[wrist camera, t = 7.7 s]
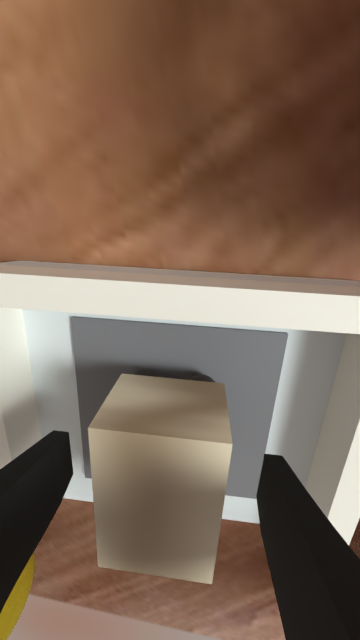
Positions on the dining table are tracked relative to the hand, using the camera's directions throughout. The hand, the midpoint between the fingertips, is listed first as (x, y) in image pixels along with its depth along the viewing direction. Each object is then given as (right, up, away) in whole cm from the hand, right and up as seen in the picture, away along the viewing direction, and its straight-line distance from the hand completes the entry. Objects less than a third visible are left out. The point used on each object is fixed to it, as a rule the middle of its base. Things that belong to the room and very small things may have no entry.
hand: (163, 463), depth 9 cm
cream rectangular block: (0, +1, +3) cm, 3 cm away
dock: (0, +1, +5) cm, 5 cm away
